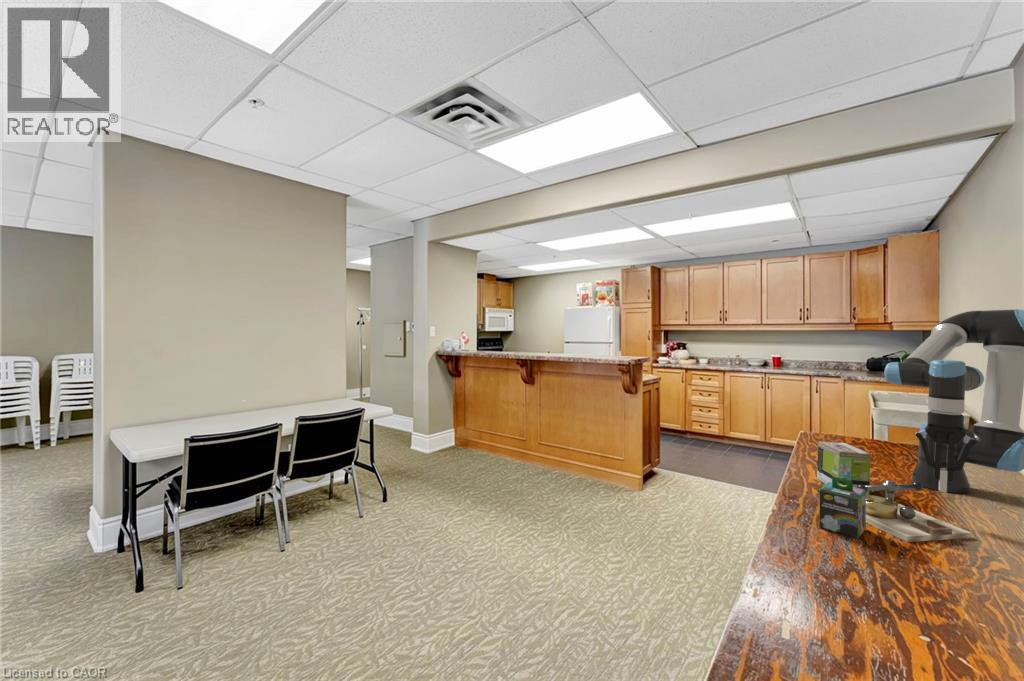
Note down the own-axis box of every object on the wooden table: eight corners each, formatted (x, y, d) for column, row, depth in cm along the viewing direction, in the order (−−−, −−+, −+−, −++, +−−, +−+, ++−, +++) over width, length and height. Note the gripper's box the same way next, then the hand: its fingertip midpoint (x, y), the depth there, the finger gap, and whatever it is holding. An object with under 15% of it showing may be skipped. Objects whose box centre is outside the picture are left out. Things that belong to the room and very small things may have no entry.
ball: (906, 515, 126) (906, 504, 126) (918, 521, 122) (919, 509, 122) (895, 516, 125) (896, 504, 125) (908, 521, 122) (908, 509, 122)
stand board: (899, 508, 135) (899, 499, 135) (972, 538, 116) (972, 527, 116) (843, 511, 133) (843, 502, 133) (908, 542, 114) (908, 531, 113)
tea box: (870, 496, 145) (872, 453, 145) (837, 493, 147) (838, 451, 147) (845, 480, 160) (846, 441, 160) (815, 478, 162) (816, 440, 162)
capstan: (904, 503, 135) (905, 474, 135) (936, 515, 126) (937, 485, 126) (844, 506, 132) (844, 477, 132) (871, 519, 123) (872, 488, 123)
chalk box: (866, 529, 121) (867, 478, 120) (858, 539, 115) (860, 485, 115) (826, 518, 128) (828, 469, 128) (817, 527, 122) (819, 476, 122)
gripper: (975, 413, 125) (972, 493, 125) (914, 407, 133) (911, 482, 134) (980, 417, 119) (977, 500, 120) (916, 411, 127) (913, 489, 128)
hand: (942, 490), depth 127 cm, fingers closed
